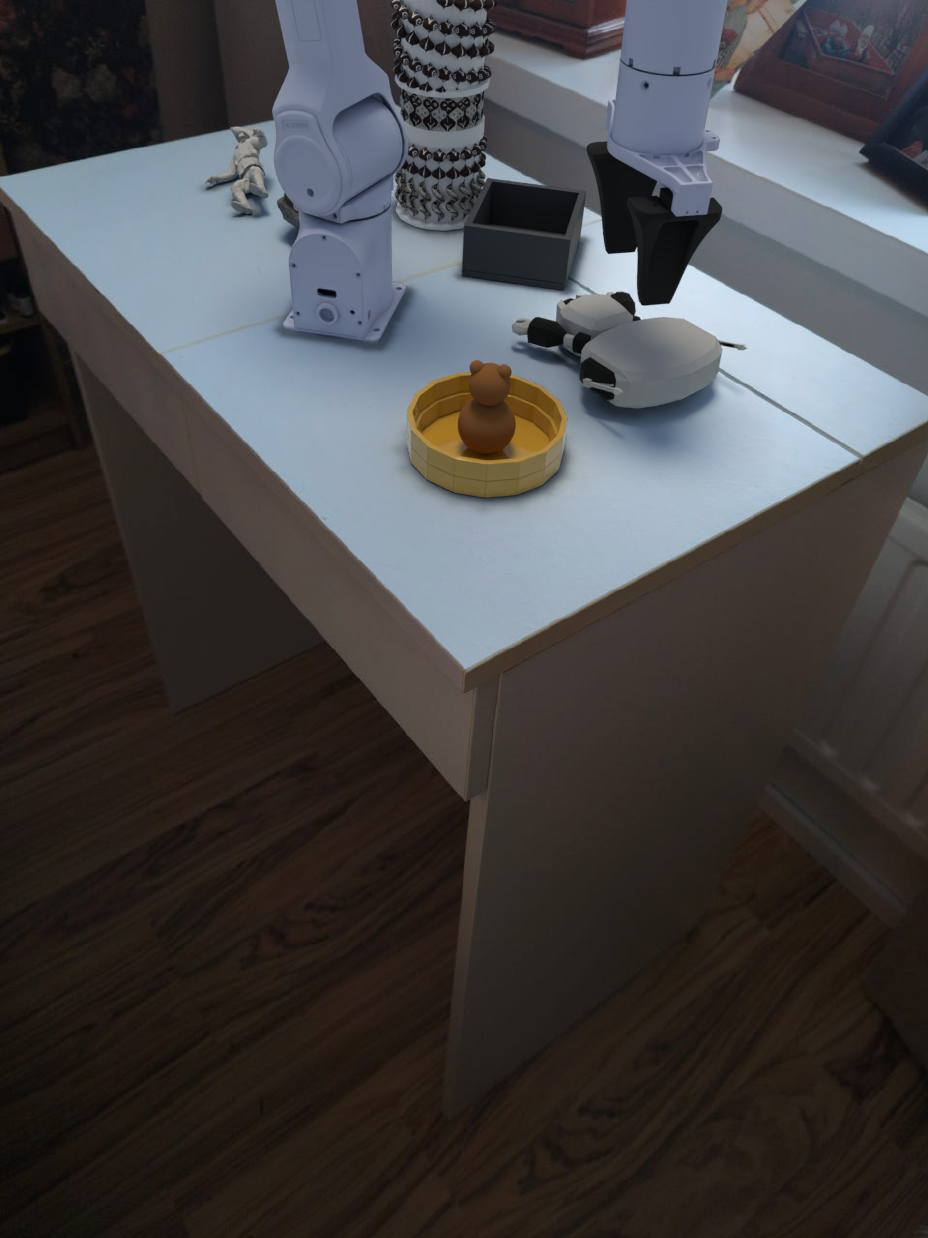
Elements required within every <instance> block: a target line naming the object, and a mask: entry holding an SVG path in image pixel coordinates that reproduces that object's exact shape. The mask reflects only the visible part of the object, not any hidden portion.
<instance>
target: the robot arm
mask: <svg viewBox="0 0 928 1238" xmlns="http://www.w3.org/2000/svg"><path fill="white" fill-rule="evenodd" d="M728 1H729V0H626V5H625V11H624V12H625V13H624V22H623V29H622V30H623V31H622V38H621V39H622V40H621V46H620V47H621V48H620V55H619V56H620V58H619V64H618V71H617V72H618V73H617V83H616V90H615V98H609V99H608V100H607V105H606V114H605V115H606V117H605V123H604V125H605V126H604V129H605V130H606V131H607V140H606V141H605V140H604V141H593V142H590V143H588V145H587V146H586V149H585V150H586V154H587V157H588V160H589V162H590V164H591V167H592V171H593V174H594V177H595V181H596V185H597V191H598V197H599V206H600V214H601V227H602V236H603V243H604V244H603V245H604V249H605V252H606V253H607V255H616V254H617V255H618V254H628V253H629V254H631V253H635V252H636V253H637V256H636V257H637V258H636V259H637V264H636V265H637V266H636V292H637V299H638V302H639V303H640V305H641V306H643V307H646V306H658V305H669V304H670V303H671V302H672V300H673V298H674V296H675V294H676V292H677V290H678V288H679V285H680V283H681V282H682V281H681V280H682V279H683V276H684V274H685V272H686V270H687V267H688V265H689V264H690V262H691V259H692V258H693V256H694V255H695V254H694V253H695V252H696V251H697V250H698V248H699V246H700V245H701V243H702V242H703V241H704V239H705V238H706V236H707V235H708V234H709V233H710V232H711V231H712V229H713V228H714V227H715V226H716V225H717V224H718V223H719V222H720V221H721V218H722V215H723V206H722V204H720V202H718V200H717V199H716V198H715V197H712V192H713V191H712V190H713V185H714V182H713V181H712V180H711V178H710V177H709V174H708V169H707V152H716V151H717V150H719V147H720V142H721V138H720V137H719V135H717V133H716V132H714V131H713V130H711V129H709V128H706V124H707V120H708V119H707V118H708V111H709V107H710V100H711V95H712V89H713V85H714V78H715V73H716V67H717V62H718V57H719V51H720V45H721V39H722V35H723V34H722V33H723V28H724V23H725V17H726V16H725V15H726V12H727V11H726V10H727V5H728ZM275 5H276V10H277V15H278V19H279V24H280V30H281V33H282V38H283V44H284V49H285V54H286V57H287V62H288V69H287V70H288V71H287V74H286V76H285V78H284V81H283V83H282V85H281V87H280V89H279V91H278V94H277V96H276V99H275V100H274V103H273V106H272V110H271V113H272V117H273V121H274V127H275V144H274V145H275V146H274V150H273V165H274V170H275V175H276V177H277V180H278V183H279V185H280V187H281V189H282V191H283V192H284V193H285V194H286V195H287V197H288V198H289V199H290V200H291V201H292V202H293V204H294V209H295V210H297V211H299V222H300V228H299V230H298V234H297V236H296V239H295V240H294V242H293V244H292V246H291V249H290V251H289V255H288V271H289V282H290V284H289V285H290V294H291V295H290V296H291V305H292V309H291V311H290V312H289V314H288V315H287V317H286V318H285V320H284V321H283V322H282V327H283V329H286V330H291V331H296V332H297V331H298V332H305V333H310V334H311V333H312V334H316V335H323V336H330V337H336V338H337V337H338V338H343V339H349V340H350V339H351V340H357V341H362V342H370V343H377V342H379V341H380V340H381V337H382V336H383V334H384V333H385V330H386V329H387V327H388V325H389V323H390V321H391V319H392V317H393V315H394V313H395V311H396V310H397V308H398V306H399V304H400V302H401V300H402V298H403V296H404V294H405V293H406V292H407V285H406V284H405V283H403V282H395V281H393V232H392V231H393V228H392V227H393V226H392V225H393V223H392V222H393V221H392V214H393V213H392V192H393V191H394V189H395V185H394V182H395V179H394V176H395V174H396V172H398V171H399V170H400V169H401V167H402V166H403V164H404V162H405V160H406V158H407V154H408V148H409V139H408V132H407V128H406V125H405V122H404V120H403V118H402V116H401V114H400V110H399V108H398V107H397V105H396V103H395V101H394V98H393V95H392V90H391V85H390V79H389V78H390V77H389V75H388V74H387V73H386V72H385V71H384V70H383V69H382V68H381V67H380V66H379V65H378V64H376V63H375V62H374V60H372V59H371V58H370V57H369V56H368V55H367V53H366V49H365V43H364V37H363V31H362V25H361V20H360V13H359V8H358V1H357V0H275ZM658 183H659V184H660V186H661V187H660V188H659V195H653V193H654V191H655V189H656V186H657V184H658Z"/></svg>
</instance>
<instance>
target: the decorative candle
mask: <svg viewBox="0 0 928 1238" xmlns="http://www.w3.org/2000/svg"><path fill="white" fill-rule="evenodd" d="M499 4H500V0H390V6H391V8H392V10H394V11H393V12H392V14H391V20H390V27H391V28H392V29H393V30H395V35H396V36H397V37H395V39H394V40H393V42H392V45H393V48H392V53H393V55H394V56H395V58H394V60H393V64H394V65H393V66H392V72H393V73H394V74H395V76H394V81H395V83H396V84H397V86H398V87H399V88H400V95H399V104H400V110H399V112H400V114H401V116H402V118H403V120H404V122H405V125H406V128H407V132H408V139H409V148H408V154H407V158H406V160H405V162H404V164H403V166H402V167H401V169H400V170H399V171H398V172H396V173H395V174H394V182H395V183H396V189H395V191H394V197H395V199H396V201H397V205H396V207H395V212H396V214H397V216H398V217H399V220H401V221H403V222H405V223H406V224H408V225H410V226H412V227H416V228H420V229H424V230H429V231H441V232H442V231H443V232H445V231H456V230H461V229H464V224H465V222H466V220H467V218H468V216H469V214H470V212H471V210H472V208H473V206H474V204H475V202H476V200H477V198H478V196H479V194H480V192H481V190H482V188H483V186H484V184H485V182H486V176H487V175H486V174H485V172H483V170H482V168H484V167H485V166H486V163H487V162H486V160H487V155H486V154H485V153H484V152H483V151H485V150H486V149H487V147H488V144H487V143H488V137H487V136H486V135H484V133H485V122H486V121H485V120H486V117H485V114H484V105H485V103H484V101H485V90H488V89H489V86H490V82H491V77H492V69H491V68H490V66H488V65H487V64H486V63H485V59H487V57H488V56H489V55H492V54H493V53H494V52H495V44H494V43H493V42H492V41H491V40H490V39H489V37H490V36H491V35H492V34H494V33H495V32H496V31H497V26H496V24H495V22H494V21H493V20H491V18H490V17H489V15H487V14H488V11H489V10H490V11H492V10H493V9H494V8H496V7H498V6H499ZM485 57H486V58H485Z"/></svg>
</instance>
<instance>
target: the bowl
mask: <svg viewBox="0 0 928 1238" xmlns="http://www.w3.org/2000/svg"><path fill="white" fill-rule="evenodd" d="M470 375H471V372H470V371H468V372H466V371H465V372H457V373H453V374H450V375H447V376H445V377H442V378H441V377H440V378H438V379H435V380H432V381H431V382H429V383H428V384H426V385H425V386H424V387H422V388H421V389H420V390H418V391H417V392H415V394H413V397H412V399H411V401H410V403H409V405H408V408H407V410H406V448H407V452H408V456H409V460H410V461H409V462H410V464H411V465H412V466H413V467H414V468H415V470H417V471H418V472H419V474H421V476H422V477H424V479H425V480H427V481H428V482H430V483H433V484H435V485H436V486H439V487H441V488H443V489H445V490H447V491H449V492H452V493H455V494H459V495H460V494H461V495H466V496H472V497H478V498H483V499H484V498H486V499H487V498H498V497H500V498H501V497H511V496H518V495H521V494H523V493H527V492H528V491H531V490H533V489H537V488H538V487H542V485H544V484H546V483H547V482H548V481H549V480H550V479H551V478H552V477H553V476H554V475H555V474H556V473H557V472H558V471H559V469H560V468H561V467H560V466H561V464H562V463H561V462H562V458H563V455H564V451H565V450H564V449H565V442H566V434H567V429H568V422H569V418H568V416H567V414H566V411H565V409H564V407H563V404H562V401H560V399H558V398H557V397H556V396H555V395H554V394H552V392H550V391H549V390H548V389H547V388H545V386H542V385H541V384H538V383H536V382H534V381H531V380H529V379H526V378H524V377H521V376H518V375H515V374H511V376H510V377H509V378H510V383H511V386H510V391H509V394H508V396H507V397H506V398H505V399H504V401H505V402H506V403H507V404H508V405H509V406H510V407H511V409H512V411H513V413H514V416H515V420H516V428H515V433H514V436H513V438H512V440H511V441H510V443H509V444H508V445H507V446H506V447H505V448H504V449H502V450H501V451H499V452H496V453H493V454H481V453H477V452H475V451H473V450H471V449H470V448H468V447H467V446H466V445H465V444H464V442H463V441H462V439H461V437H460V435H459V432H458V418H459V414H460V412H461V410H462V408H463V407H464V406H465V404H466V403H467V402H468V401H470V400H471V399H473V397H472V396H471V394H470V391H469V386H468V383H469V378H470Z"/></svg>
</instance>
